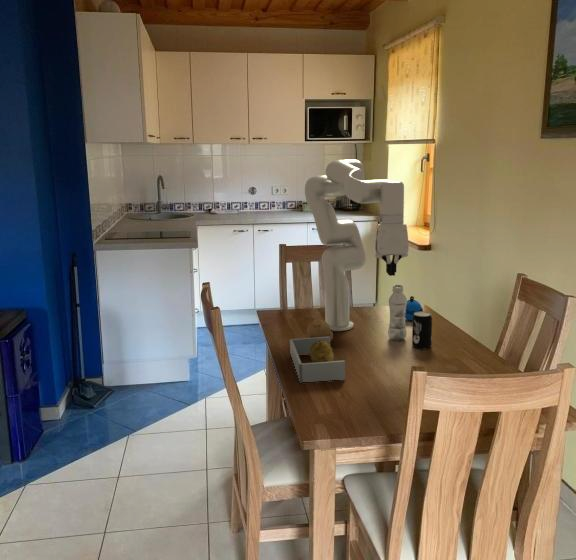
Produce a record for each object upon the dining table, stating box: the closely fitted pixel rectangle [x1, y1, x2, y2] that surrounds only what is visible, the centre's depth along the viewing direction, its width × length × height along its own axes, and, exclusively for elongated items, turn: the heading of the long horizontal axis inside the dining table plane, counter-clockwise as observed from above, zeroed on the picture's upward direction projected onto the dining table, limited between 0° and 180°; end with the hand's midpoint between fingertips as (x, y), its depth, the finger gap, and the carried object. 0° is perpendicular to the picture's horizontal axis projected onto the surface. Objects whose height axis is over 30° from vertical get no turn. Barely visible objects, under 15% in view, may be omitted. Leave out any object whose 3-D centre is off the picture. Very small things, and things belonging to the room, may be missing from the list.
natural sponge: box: [306, 318, 334, 342], centre depth 199 cm, size 9×9×10 cm
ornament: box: [405, 295, 424, 322], centre depth 225 cm, size 9×9×10 cm
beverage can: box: [411, 310, 433, 350], centre depth 194 cm, size 7×7×12 cm
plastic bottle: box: [387, 284, 408, 341], centre depth 202 cm, size 6×7×20 cm
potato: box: [309, 340, 335, 363], centre depth 179 cm, size 8×13×8 cm, turn 172°
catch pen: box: [289, 336, 346, 383], centre depth 179 cm, size 24×14×6 cm, turn 7°
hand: (391, 274), depth 186 cm, fingers closed
